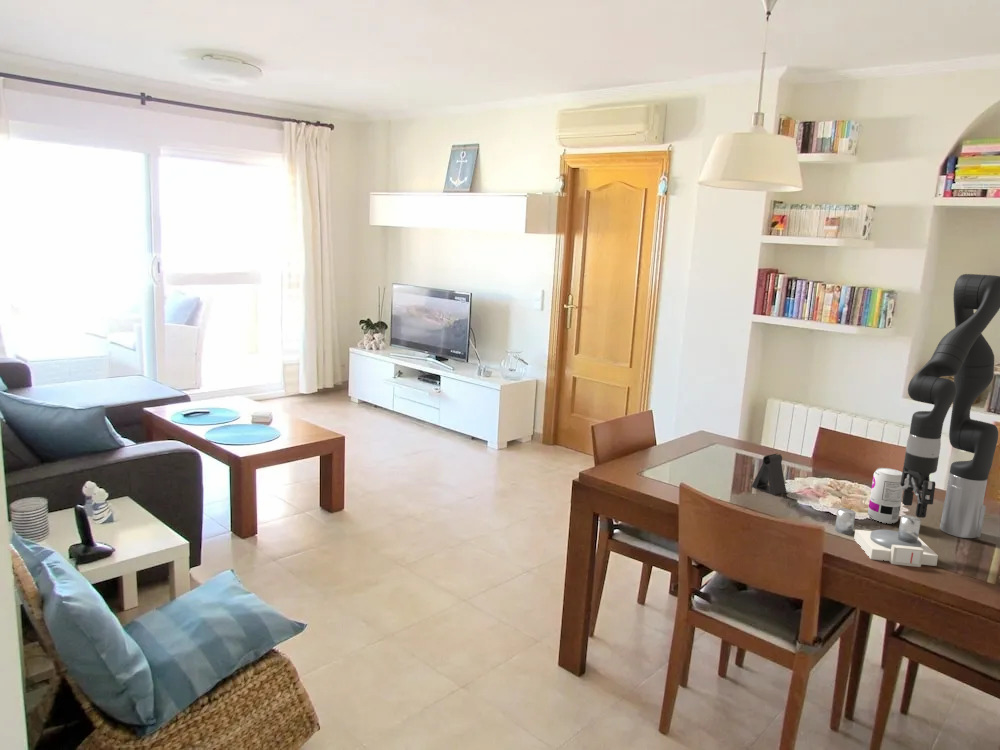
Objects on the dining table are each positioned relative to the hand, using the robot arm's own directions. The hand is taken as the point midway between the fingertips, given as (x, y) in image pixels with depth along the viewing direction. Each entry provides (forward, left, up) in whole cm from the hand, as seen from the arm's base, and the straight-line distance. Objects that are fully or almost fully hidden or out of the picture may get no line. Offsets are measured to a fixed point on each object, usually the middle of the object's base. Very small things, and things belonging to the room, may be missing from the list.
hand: (913, 510), depth 191 cm
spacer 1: (+12, -12, -12) cm, 21 cm away
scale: (+3, +1, -12) cm, 12 cm away
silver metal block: (0, 0, -8) cm, 8 cm away
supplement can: (-3, -25, -12) cm, 28 cm away
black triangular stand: (+26, -43, -12) cm, 52 cm away
